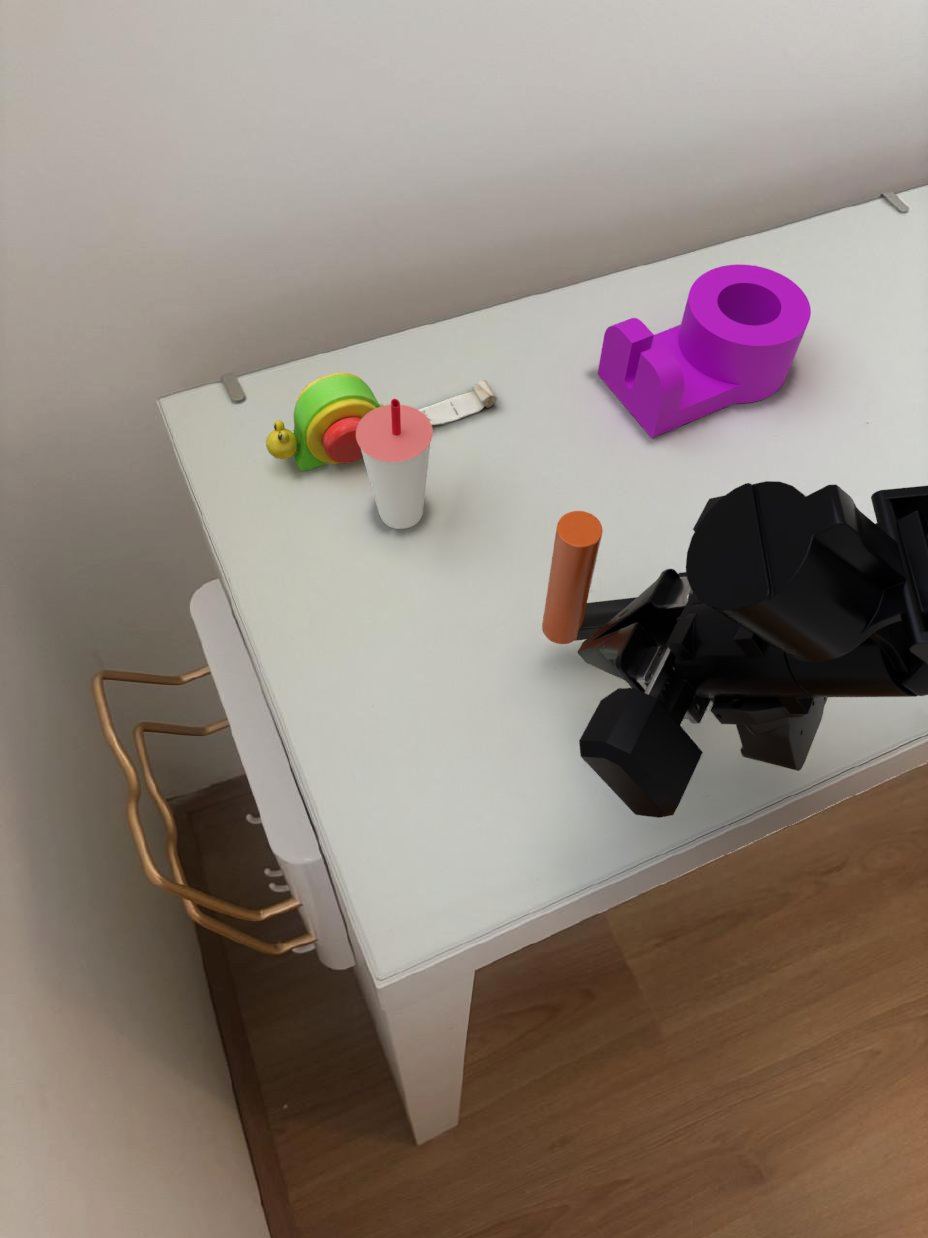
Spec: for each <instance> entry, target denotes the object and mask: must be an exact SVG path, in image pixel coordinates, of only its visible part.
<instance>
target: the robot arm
mask: <svg viewBox="0 0 928 1238" xmlns="http://www.w3.org/2000/svg"><path fill="white" fill-rule="evenodd" d="M870 500H871V504H872V509H873V513H874V516H875V519H876V523H875V522H874V521H872V520H871V519H870V518H869V517H868V516H866V515H865V514H864V513H863V512H862V511H861V510H860V509H859V508H858V506H857V505H856V503H855V500H854V499H853V497H851V495H849V494H848V493H847V492H846V491H845V490H844V489H842V488H841V487H840V486H839V485H838V484H828V485H825V486H823V487H822V488H819V489H817V490H815V491H814V492H811V493H810V494H808V495H806V494H804V493H803V492H802V491H800V490H799V489H798V488H796V487H795V486H794V485H791V484H789V483H786V482H782V481H776V480H775V481H771V480H766V481H760V482H756V483H752V484H751V483H750V482H747V483H744V484H742V485H739V486H737V487H735V488H733V489H732V490H730V491H729V492H728V493H726V494H725V495H720V496H716V497H711V498H708V500H707V502H706V504H705V505H704V508H703V509H702V511H701V513H700V515H699V517H698V519H697V521H696V522H695V524H694V526H693V528H692V530H693V535H692V536H691V538H690V542H689V546H688V548H687V552H686V559H685V572H686V575H687V577H680V576H679V575H678V572H677V570H675V569H674V568H666V569H664V570H662V571H661V573H660V574H659V576H658V578H657V579H656V580H655V581H654V582H653V583H651V585H650V586H648V587H647V588H646V589H645V590H644V591H643V592H641V593H640V594H639V595H638V596H637V598H636V599H635V600H634V601H633V602H631V603H630V604H629V605H628V606H627V607H626V608H625V609H623V610H622V611H621V612H620V613H619V614H617V615H616V616H615V617H614V618H613V619H611V620H610V621H609V622H608V623H606V624H605V625H604V626H603V627H601V628H600V629H599V630H598V631H596V632H595V633H594V634H593V635H591V636H590V637H589V638H588V639H585V640H583V642H582V643H581V644H580V647H579V648H578V650H577V654H578V656H579V657H580V658H581V659H582V660H583V661H584V663H586V664H587V665H590V666H592V667H594V668H597V669H598V670H600V671H604V672H605V673H607V674H610V675H612V676H615V677H617V678H619V679H620V680H624V681H625V682H626V684H627V685H629V687H622V688H621V687H620V688H619V687H618V688H616V689H615V690H614V691H612V692H611V693H609V694H608V695H607V696H605V697H604V698H602V699H601V700H600V701H599V703H598V705H597V707H596V709H595V711H594V712H593V714H592V716H591V718H590V720H589V722H588V723H587V725H586V727H585V729H584V731H583V732H582V735H581V737H580V738H579V740H578V742H579V743H578V744H579V754H580V758H581V759H582V760H583V761H584V762H585V763H586V764H587V765H588V766H589V767H590V768H591V769H592V770H593V772H594V773H596V775H597V776H598V778H600V779H601V780H602V781H603V782H604V783H605V784H606V785H607V786H608V787H609V788H610V789H611V791H612V792H613V793H614V794H615V795H616V796H617V797H618V798H619V799H620V800H621V802H623V803H624V804H625V806H627V808H628V809H630V811H631V812H632V813H633V814H634V815H635V816H641V817H650V818H658V819H660V818H661V819H662V818H665V817H673V816H674V815H675V813H676V811H677V809H678V807H679V805H680V804H681V801H682V799H683V797H684V795H685V793H686V791H687V788H688V786H689V784H690V782H691V780H692V777H693V775H694V773H695V770H696V769H697V766H698V764H699V762H700V760H701V758H702V755H703V753H704V751H702V750H701V748H700V747H699V746H698V745H697V743H696V742H695V741H694V740H693V739H692V738H691V736H690V735H689V734H688V733H687V732H686V731H685V729H684V728H683V727H682V726H681V725H682V723H683V720H689V721H690V723H692V724H693V725H699V724H700V723H701V722H702V720H703V718H704V715H705V713H706V711H707V710H708V708H709V705H710V703H711V702H712V705H711V708H710V713H711V714H712V715H713V716H714V717H715V719H716V720H717V721H718V722H719V723H720V724H721V725H735V727H736V729H737V733H738V737H739V740H740V743H741V747H740V753H741V754H740V755H742V757H743V758H746V759H749V760H754V761H757V762H762V763H766V764H769V765H774V766H777V767H781V768H786V769H788V770H793V771H801V770H802V768H804V765H805V763H806V760H807V759H808V756H809V753H810V750H811V748H812V745H813V742H814V741H815V738H816V736H817V732H818V730H819V727H820V725H821V722H822V719H823V715H824V710H825V706H826V703H827V701H828V699H829V698H916V697H925V696H928V485H919V486H909V487H898V488H889V489H888V488H887V489H880V490H877V491H875V492H873V493H872V494H871V496H870Z"/></svg>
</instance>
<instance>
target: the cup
mask: <svg viewBox="0 0 928 1238" xmlns="http://www.w3.org/2000/svg"><path fill="white" fill-rule="evenodd" d="M433 434H434V431H433V425H431V423H430V421H429V419H428V418H427V417H426V416H425V415H424V414H423V413H422V412H420V411H419V409H417V408H415V407H412V406H410V405H405V404H401V402H400V401H399V399H397V398H392V399H391V401H390V404H386V405H384V406H382V407H379V408H376V409H374V410H372V411H370V412H369V413H367V414H366V415H365V416H364V417H363V418H362V419H361V420H360V422H359V424H358V426H357V429H356V440H357V443H358V445H359V446H360V448H361V451H362V455H363V457H362V459H363V462H364V465H365V469H366V472H367V476H368V481H369V483H370V487H371V490H372V494H373V498H374V501H375V504H376V508H377V511H378V514H379V517H380V520H381V521H382V522H383V524H384V525H386V526H387V527H389V528H392V529H396V530H405V529H409V528H412V527H414V526H415V525H417V524H419V522H420V521H421V519H422V518H423V515H424V509H425V508H424V507H425V499H426V492H427V491H426V490H427V479H428V469H429V460H430V459H429V458H430V447H431V442H432V439H433V436H434V435H433Z"/></svg>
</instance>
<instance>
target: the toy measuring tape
mask: <svg viewBox="0 0 928 1238" xmlns="http://www.w3.org/2000/svg"><path fill="white" fill-rule="evenodd" d="M496 402H497V396H496V394H495V393H494V391H493V389H492V387H491V386H490V384H489V382H488V381H487V380H486V379H480V380H478V381H476V383H474V384H473V385H472V390H471V391H469V392H466V393H462V394H458V395H457V394H456V396H452V397H450V398H447V399H444V400H441V401H440V402H437V403H435V404H432V405H427V406H425V407H421V408H419V409H418V410H419V411H420V412H422V413H423V414H424V415H425V416H426V417H427V418H428V419H429V421H430V423H431V425H432V426H436V425H446V424H448V423H452V422H455V421H459V420H460V419H463V418H465V417H468V416H471V415H474V414H477V413H479V412H481V411H482V410H483V409H484V408H487V409H489V408H490V407H492V406H493V405H494V404H496ZM382 406H385V405H384V404H381V403H379V401H378V400H377V398H376V396H375V394H374V392H373V391H372V389H371V387H370V386H369V385H368V384H367V382H365V381H364V380H363V379H362V378H361V377H360V376H358V375H355V374H353V373H348V372H336V373H331V374H327V375H324V376H321V377H318V378H317V379H314V380H313V381H312V382H310V383H309V384H308V385H306V387H304V388H303V389H302V391H301V392H300V393H299V394H298V397H297V400H296V402H295V406H294V410H293V431H291V430H290V429H287V428H285V422H284V421H282V420H280V419H278V420H277V419H276V420H275V421H274V423H273V430H271V431H270V432H269V433H268V435H267V437H266V439H265V447H266V450H267V452H268V453H269V455H271V456H272V457H273V458H275V459H278V460H288V459H290V458H292V457H293V459H294V461H295V463H296V466H297V468H298V469H299V471H301V472H304V471H309V470H311V469H316V468H318V467H321V466H324V465H327V464H332V465H334V464H337V465H338V464H350V463H355V462H358V461H359V460H361V459H363V455H362V451H361V448H360V446H359V445H358V443H357V440H356V429H357V426H358V424H359V422H360V420H361V419H362V418H363V417H364V416H365V415H366V414H367V413H369V412H370V411H372V410H374V409H376V408H379V407H382Z"/></svg>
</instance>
